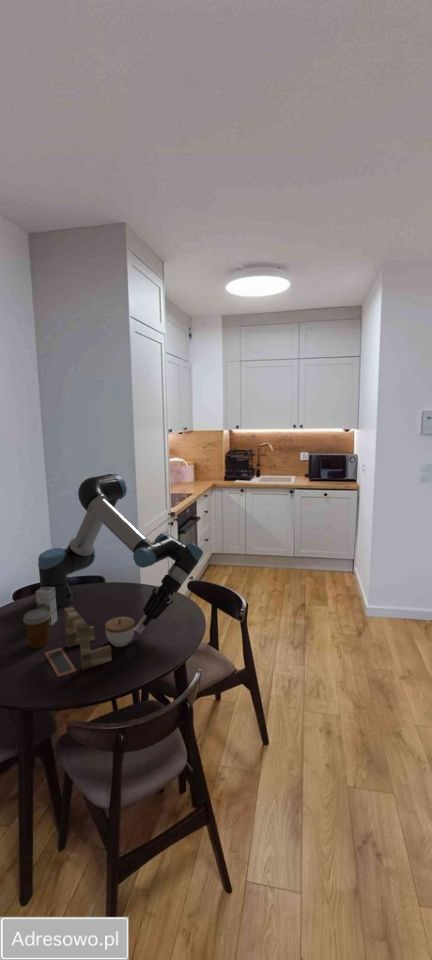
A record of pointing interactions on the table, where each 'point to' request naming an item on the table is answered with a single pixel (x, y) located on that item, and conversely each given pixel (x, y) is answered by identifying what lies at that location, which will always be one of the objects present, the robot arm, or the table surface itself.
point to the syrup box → (47, 602)
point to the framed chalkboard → (60, 662)
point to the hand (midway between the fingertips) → (137, 631)
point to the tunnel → (84, 640)
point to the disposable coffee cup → (37, 627)
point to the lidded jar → (120, 631)
